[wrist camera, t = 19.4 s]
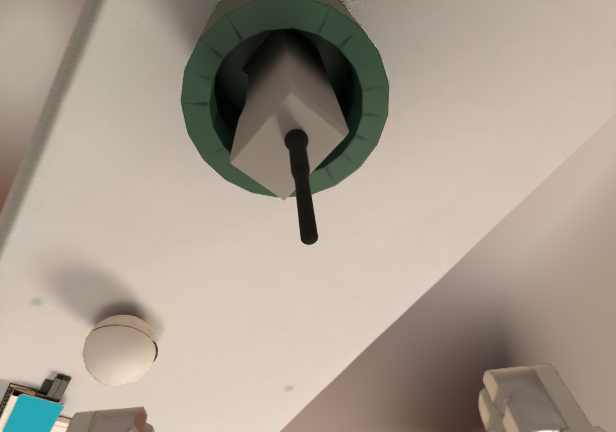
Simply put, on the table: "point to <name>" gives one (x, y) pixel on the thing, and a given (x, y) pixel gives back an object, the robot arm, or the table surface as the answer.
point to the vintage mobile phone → (287, 121)
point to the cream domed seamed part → (120, 350)
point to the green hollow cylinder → (233, 82)
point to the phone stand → (34, 408)
